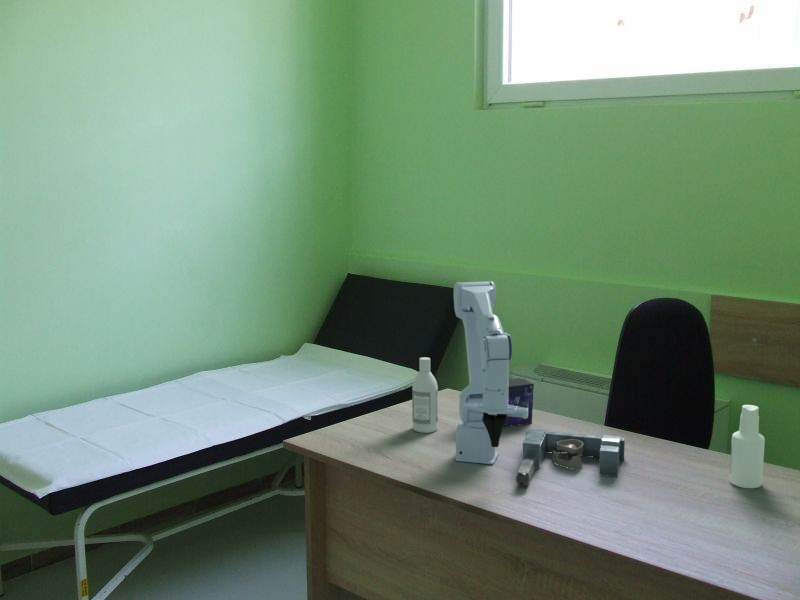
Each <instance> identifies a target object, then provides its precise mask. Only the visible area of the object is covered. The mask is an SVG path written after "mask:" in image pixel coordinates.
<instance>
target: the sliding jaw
mask: <svg viewBox="0 0 800 600" xmlns="http://www.w3.org/2000/svg"><path fill="white" fill-rule="evenodd" d="M528 429H529V431H528V433H527V435H526V434H525V437H524V439H523V442H522V462H521V464H520V466H519V469H518V471H517V474H516V477H515V482H516V483H517V485H518V486H520V487H525V486H529V484H530V483H531V482H530V481H531V479H532V477H533V475H534V472H535V469H540V468H541V464H542V462H543V460H544V457H545V455H546V453H545V445H546V431H547V430H546V429H541V428H528Z"/></svg>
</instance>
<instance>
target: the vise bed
mask: <svg viewBox="0 0 800 600" xmlns="http://www.w3.org/2000/svg"><path fill="white" fill-rule="evenodd" d="M529 429H530V428H528V429H526V431H525V436H526V435H527V433H528V431H529ZM569 439H575V440H579V441H581V442H582V443H583V453H582V456H581V457H585V456H593V457H592V458H596V457H600V458H599V467H598V468H599V473H598V474H601V475H600V476H607V475H608V476H609V477H618V473H619V466H620V461H624V460H625V449H626V448H625V447H626V446H625V445H626V444H625V443H626V438H625V437H621V435H620V436H619V435H608V434H603V435H597V434H595V435H593V434H583V433H574V432H573V433H572V432H560V431H549V430H546V445H545V452H552V453H551V454H553V451H555V452H556V453H558V452H559V453H561V452H568V451H564V450H557V442H559V441H562V440H569Z"/></svg>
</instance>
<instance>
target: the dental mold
mask: <svg viewBox="0 0 800 600" xmlns="http://www.w3.org/2000/svg"><path fill="white" fill-rule="evenodd" d="M557 450H564V451H568V452H561V453H559V452H558V453H556V452H555V451H553V453H552V463H553V462H554V463H556V464H558V465H557V466H560V465H562V466H561V467H563V466H565V467H564V468H566V467H568V468H567V469H569V468H574V469H573V470H581V469H582V468H583V462H582V456H581V455H582V453H583V443H582V442H581V441H579V440H575V439H569V440H562V441H559V442H557ZM554 463H553V464H554ZM556 464H555V465H556Z"/></svg>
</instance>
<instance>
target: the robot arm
mask: <svg viewBox="0 0 800 600" xmlns="http://www.w3.org/2000/svg"><path fill="white" fill-rule="evenodd" d="M496 299H497V291H496V285H495V283H494V281H492V280H488V281H468V282H467V281H465V282H463V281H462V282H460V281H456V282H455V284H453V308H454V313H455V317H457V318H458V319H460V320H462V323H463V329H464V336H465V347H466V348H465V349H466V357H467V358H466V360H467V370H468V381H469V384H468V385H467V386H466V387H465V388H464V389H462V390H461V392H460V394H459V404H458V405H459V406H458V408H459V409H458V410H459V411H458V412H459V418H460V421H459V422H458V423H457V426H456V433H455V461H457V462H464V463H465V462H466V463H474V464H475V463H476V464H484V465H494V464H495V462H496V460H497V458H498V457H499V454H500V451H496V448H498V447H499V445H500V441H501V437H502V436H501V435H502V432H503V429H504V428H505V427H504V424H505V422H506V420H507V418H508V416H512V417H522V418H524V419H527V418H528V408H524V407H518V406H513V405H508V392H509V379H510V376H509V373H510V369H509V368H510V361H511V360H512V357H513V341H512V338H511V334H509V333H508V332H505V331H504V328H503V326H502V323H501V320H500V318H499V317H498V316H497V315H496V314H494V313H493V310H494V306H495V303H496ZM469 397H473V398H469Z"/></svg>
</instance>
